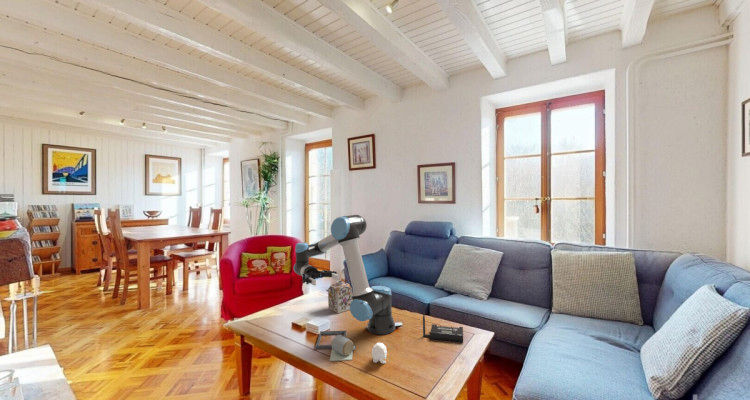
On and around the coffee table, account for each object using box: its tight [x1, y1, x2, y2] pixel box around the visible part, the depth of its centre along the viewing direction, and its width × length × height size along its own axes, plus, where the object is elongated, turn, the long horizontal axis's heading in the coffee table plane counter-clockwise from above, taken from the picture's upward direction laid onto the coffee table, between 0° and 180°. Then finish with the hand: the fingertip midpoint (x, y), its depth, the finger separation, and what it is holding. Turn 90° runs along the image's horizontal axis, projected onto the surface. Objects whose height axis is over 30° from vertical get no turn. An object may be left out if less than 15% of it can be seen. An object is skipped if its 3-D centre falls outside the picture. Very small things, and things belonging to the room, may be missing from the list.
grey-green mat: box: [329, 349, 354, 362], centre depth 147 cm, size 10×10×1 cm
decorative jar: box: [327, 280, 353, 314], centre depth 203 cm, size 12×12×18 cm
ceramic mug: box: [331, 334, 356, 356], centre depth 148 cm, size 11×8×8 cm
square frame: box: [315, 330, 348, 350], centre depth 160 cm, size 14×16×2 cm
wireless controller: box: [422, 304, 464, 344], centre depth 163 cm, size 20×14×17 cm
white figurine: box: [371, 342, 388, 365], centre depth 142 cm, size 6×8×12 cm
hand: (327, 280), depth 164 cm, fingers open, 13 cm apart
